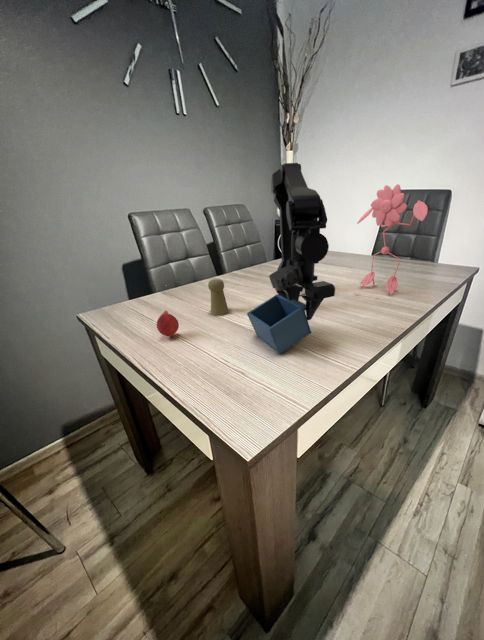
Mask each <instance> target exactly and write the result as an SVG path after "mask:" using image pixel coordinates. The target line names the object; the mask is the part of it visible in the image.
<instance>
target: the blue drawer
mask: <svg viewBox="0 0 484 640" xmlns="http://www.w3.org/2000/svg"><path fill="white" fill-rule="evenodd" d="M246 316H247V317H248V319H249V321H250V324H251V326H252V328H253V330H254V332H255V334H256V336H257V338H259V339H260V341H263V342H264V344H266V345H267V346H269V347H270V348H271V349H272V350H274V351H275V352H276V353H277V354H279V355H282V354H283V353H284V352H286V351H287V350H289V349H290V348H292V347H293V346H294V345H296V344H297V343H299V342H300V341H302V340H303V339H305V338H306V337H308V336H309V335H310V334H312V330H311V327H310V324H309V323H310V322H309V320H307V316H306V303H304V302H302V301H300V300H299V301H298V300H296V299H291V301H290V300H288V299H286V298H284V297H282V296H280V295H278V293H276V294H275V295H274V296H272V297H270V298H269V299H267V300H265V301H264V302H262V303H260V304H259V305H257V306H256V307H254V308H253V309H251V310H250V311H248V312H247V313H246Z"/></svg>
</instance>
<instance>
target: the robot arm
mask: <svg viewBox="0 0 484 640" xmlns="http://www.w3.org/2000/svg"><path fill="white" fill-rule="evenodd" d="M270 180H271V181H270V193H271V194H272V196H273V202H274V204H275V206H276V207H277V209H278V210H279V229H280V233H279V234H280V250H281V251H280V252H281V253H280V254H281V261H280V263H279V264H278V267H277V270H275V271H274V272H272V273H270V274H269V275H268V279H269V280H270V283H271V286H272V289H274V290H275V291H276V292H275V293H276V294H278V295H280V296H282V297H284V298H286V299H288V300H290V301H291V299H296V300H298V301H300V300H299V299H300V296H301V298H302V299H303V300H304V301H305V304H306V310H305V313H306V317H307V320H308V321H310V320H312V319H313V317H314V315H315V314H316V312H317V310H318V308H319V306H320V305H321V304H322V302H323V301H324V300H325V299H328V298H332V297H335V295H336V286H335V285H334V284H333V283H331V282H327V281H324V280H321V281H320V280H319V281H318V277H319V276H318V275H316V274H315V266H316V264H319V262H320V261H323V259H325V257H326V256H327V254H328V253H329V248H330V247H329V246H330V245H329V241H328V239H327V237H326V236H325V235H324V234H322V233H321V229H327V222H328V217H327V211H326V208H325V204H324V202H323V199H322V198H321V195H320V194H319V192H317V190H315V189H313V188H310V187H309V186H308V184H307V182H306V180H305V177H304V175H303V172H302V164H301V163H298V162H286V163H283V164H281V165H280V167H279V169H278V170H276V171H274V172H273V173H272V174H271V179H270ZM303 288H304V289H305V294H304V295H300V292H302V290H303Z"/></svg>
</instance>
